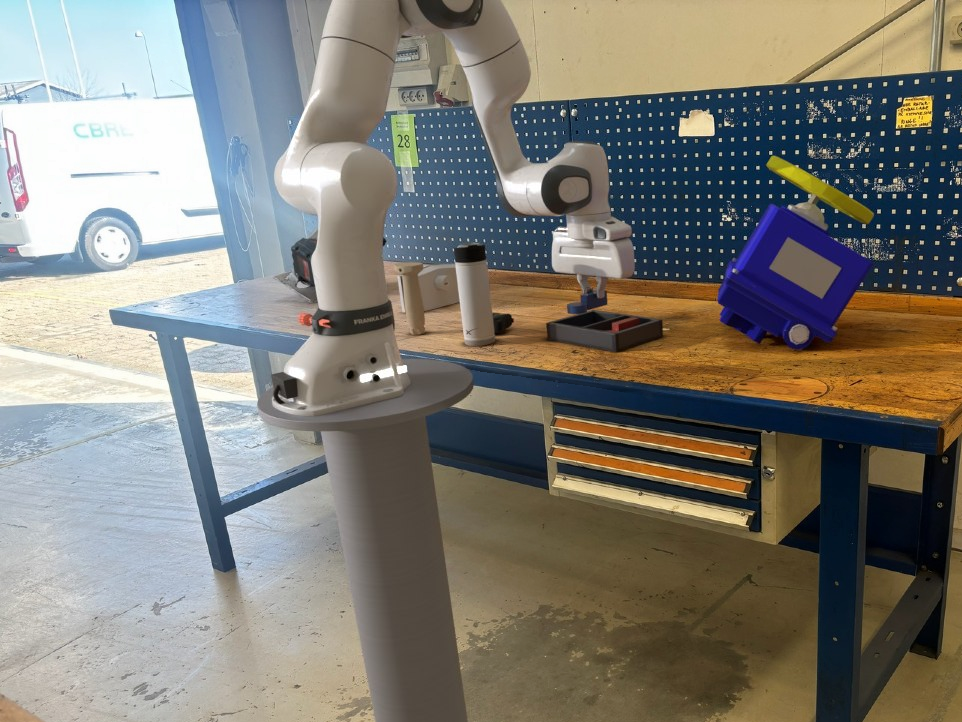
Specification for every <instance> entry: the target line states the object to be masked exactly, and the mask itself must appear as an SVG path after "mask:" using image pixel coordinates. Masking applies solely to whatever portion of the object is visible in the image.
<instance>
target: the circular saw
mask: <svg viewBox="0 0 962 722" xmlns="http://www.w3.org/2000/svg"><path fill="white" fill-rule="evenodd" d="M317 239H318V227H317V228H315V229H314V230H313V231H311V232H309V234H308V235H307V236H306V237H302V238H301V239H299V240H297V241H296V242H295V243H294V245H291V247H290V251H291V258H292V261H293V262H292V266H293V267H290V271H287V272H284V273H281V274H276V275H273V276H272V278H273V279H274V280H276V281H278V282H279V283H281V284H283V285H285V287H287V288H288V289H290V290H292V291H293V292H295V293H296V294H298V295H299V296H301V297H303V299H306V300H307V301H309V302H310V303H313V302H318V299H317V294H316V288H315V283H314V277H313V272H312V266H311V258H312V255H313V253H314V251H315V249H316V245H317ZM386 243H387V239H386V238H385V237H384V236H383V247H384V246H386ZM299 282H300V283H301V284H302V285H305V286H306V287H298V283H299Z"/></svg>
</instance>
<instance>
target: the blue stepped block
mask: <svg viewBox="0 0 962 722" xmlns="http://www.w3.org/2000/svg"><path fill="white" fill-rule="evenodd" d="M604 292H605V296H604V298H594V293H593V292H590V293H586V294H580V298H579V299H580V301H576V302H575V301H574V302H569V303H567V304H566V313H567V314H568V315H577V314H582V313H586V312H587V311H591V310H595V309H597V308H600V307H605V306H608V290H607V289H604Z"/></svg>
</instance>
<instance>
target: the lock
mask: <svg viewBox="0 0 962 722" xmlns="http://www.w3.org/2000/svg"><path fill="white" fill-rule="evenodd" d="M396 277H397V284H398V291H399V298H400V306H401V312H402V313H403V314H404V313H405V314H406V311H405V301H404V289H403V280H402V275H401V274H399V275H397V276H396ZM418 280H419V286H420V291H421V296H422V301H423V307H424V312H426V311H431V310H435V309H438V308H443V307H447V306H450V305H453V304H457V303H460V300H459V291H458V283H457V274H456V264H455V263H441V264H426V265H423V270H422V271H421V272H420V273H418Z"/></svg>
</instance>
